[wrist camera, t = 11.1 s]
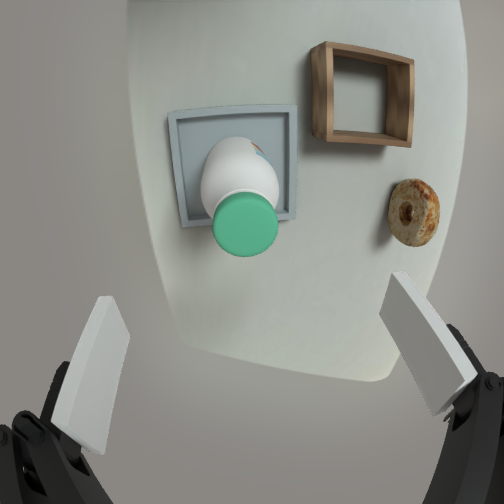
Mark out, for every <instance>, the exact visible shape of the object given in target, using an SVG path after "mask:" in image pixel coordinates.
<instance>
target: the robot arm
mask: <svg viewBox="0 0 504 504" xmlns="http://www.w3.org/2000/svg"><path fill="white" fill-rule="evenodd" d="M379 315H380V317H381V318H382V320H383V322H384V324H385V325H386V327H387V329H388V331H389V332H390V334H391V336H392V338H393V340H394V341H395V343H396V345H397V347H398V349H399V351H400V352H401V354H402V356H403V358H404V360H405V362H406V364H407V366H408V367H409V369H410V371H411V373H412V375H413V377H414V379H415V381H416V383H417V385H418V387H419V389H420V391H421V393H422V395H423V398H424V399H425V402H426V404H427V406H428V408H429V410H430V412H431V415H432V416H435V415H437V414H440V413H441V412H444V411H446V410H447V408H448V407H449V406H450V405H451V404H453V406H454V409H453V410H452V411H451V412H450V413H449V414H448V415H447V416H446V417H445V418H444V420H443V421H444V422H445V421H446V420H447V419H448V418H449V417H450V420H449V421H448V423H449V425H448V429H447V433H446V438H445V441H444V445H443V448H442V451H441V455H440V458H439V461H438V464H437V467H436V470H435V473H434V476H433V479H432V481H431V484H430V486H429V489H428V492H427V494H426V497H425V499H424V501H423V503H422V504H504V377H499V376H498V375H497V374H495V373H493V372H486V371H485V370H484V368H483V367H482V365H481V363H480V362H479V360H478V359H477V357H476V356H475V354H474V353H473V351H472V350H471V348H470V347H469V346H468V344H467V342H466V341H464V338H463V336H462V335H461V334H460V332H459V331H458V330H457V329H456V328H455V327H453V326H452V325H451V324H447V325H445V323H444V322H443V321H442V319H441V318H440V317H439V315H438V314H437V312H436V311H435V310H434V308H433V307H432V306H431V304H430V303H429V302H428V300H427V299H426V298H425V296H424V295H423V294H422V293H421V291H420V290H419V289H418V287H417V286H416V285H415V284H414V282H413V281H412V280H411V279H410V277H409V276H408V275H407V274H406V273H405V271H400V272H393V273H392V274H391V278H390V281H389V285H388V288H387V291H386V295H385V298H384V301H383V304H382V307H381V310H380V313H379ZM130 337H131V336H130V334H129V332H128V330H127V328H126V326H125V324H124V321H123V319H122V316H121V314H120V312H119V309H118V307H117V305H116V302H115V300H114V298H113V296H99V298H98V300H97V302H96V304H95V306H94V308H93V310H92V313H91V315H90V317H89V319H88V321H87V324H86V326H85V328H84V330H83V333H82V335H81V337H80V340H79V342H78V344H77V347H76V350H75V352H74V354H73V357H72V360H71V362H67V361H64V362H63V363H62V364H61V365H60V367H59V368H58V369H57V370H56V374H55V376H54V379H53V382H52V384H51V386H50V390H49V392H48V395H47V398H46V401H45V404H44V407H43V410H42V413H41V416H40V419H38V418H37V417H36V416H35V415H34V414H33V413H31V412H30V411H26V410H25V411H21V412H19V413H18V414H17V415H16V416H15V417H14V419H13V422H12V430H11V429H10V428H9V427H7V426H6V425H2V424H1V425H0V504H113V502H112V501H111V500H110V498H109V497H108V495H107V494H106V492H105V491H104V489H103V488H102V486H101V484H100V483H99V481H98V480H97V478H96V477H95V475H94V473H93V471H92V470H91V468H90V466H89V464H88V463H87V461H86V459H85V457H84V455H83V454H82V453H81V447H83V448H85V449H86V450H87V451H89V452H93V453H98V454H103V455H105V449H106V442H107V436H108V431H109V425H110V420H111V415H112V410H113V406H114V401H115V396H116V392H117V387H118V383H119V379H120V375H121V371H122V367H123V363H124V359H125V355H126V351H127V348H128V344H129V341H130ZM23 467H24V471H23Z"/></svg>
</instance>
